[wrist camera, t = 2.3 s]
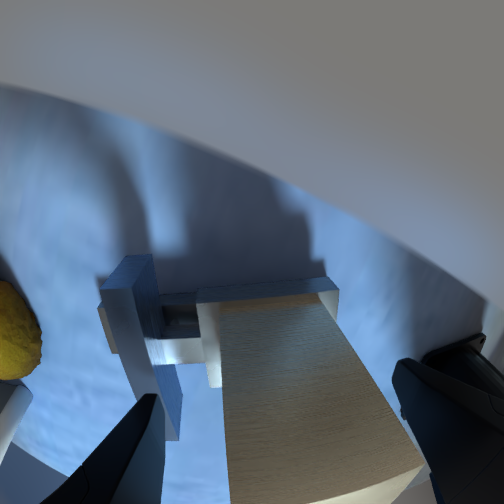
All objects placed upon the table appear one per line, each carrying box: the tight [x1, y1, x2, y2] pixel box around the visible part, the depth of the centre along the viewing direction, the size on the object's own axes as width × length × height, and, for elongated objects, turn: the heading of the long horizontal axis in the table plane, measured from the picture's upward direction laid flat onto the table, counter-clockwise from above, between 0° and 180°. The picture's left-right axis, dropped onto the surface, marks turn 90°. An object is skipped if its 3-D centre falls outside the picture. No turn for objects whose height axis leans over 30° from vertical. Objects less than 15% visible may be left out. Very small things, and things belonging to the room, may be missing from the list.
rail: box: [97, 292, 199, 354], centre depth 12 cm, size 10×2×1 cm, turn 93°
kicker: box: [99, 254, 425, 504], centre depth 8 cm, size 8×7×8 cm
